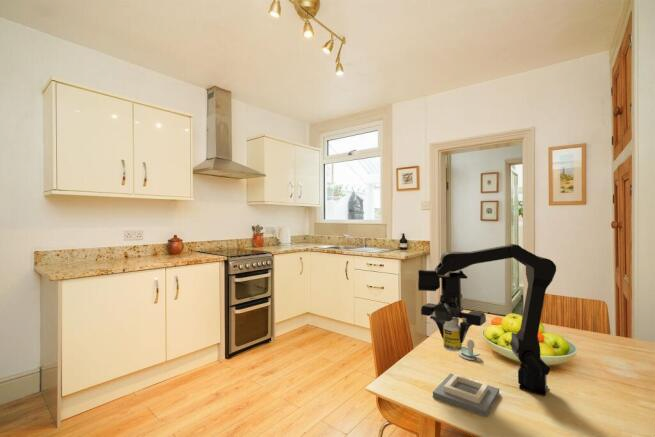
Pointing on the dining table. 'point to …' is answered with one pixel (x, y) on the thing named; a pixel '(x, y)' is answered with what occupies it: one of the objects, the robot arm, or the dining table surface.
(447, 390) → the plate
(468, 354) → the pacifier
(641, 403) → the dining table surface
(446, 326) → the supplement bottle
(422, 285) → the robot arm
